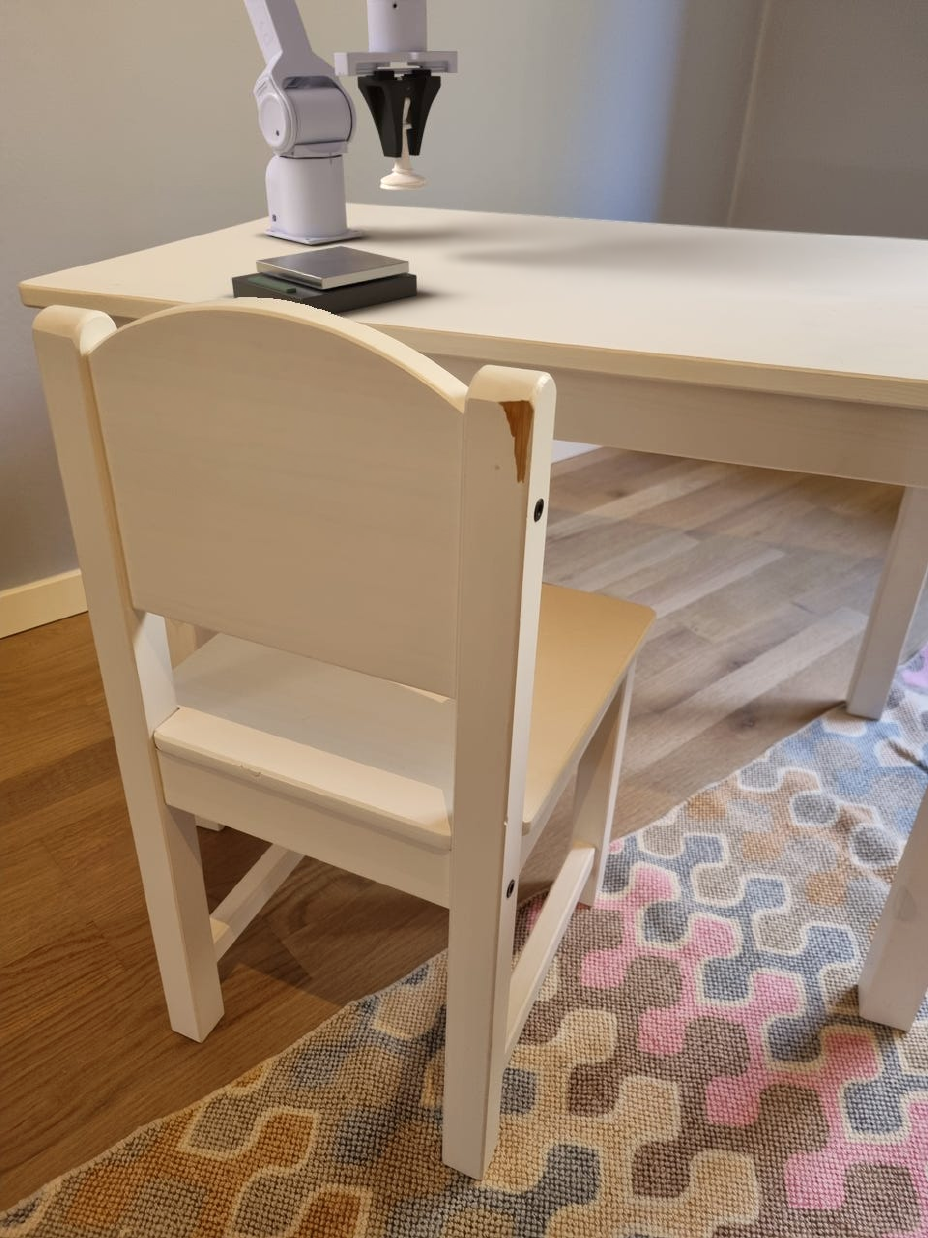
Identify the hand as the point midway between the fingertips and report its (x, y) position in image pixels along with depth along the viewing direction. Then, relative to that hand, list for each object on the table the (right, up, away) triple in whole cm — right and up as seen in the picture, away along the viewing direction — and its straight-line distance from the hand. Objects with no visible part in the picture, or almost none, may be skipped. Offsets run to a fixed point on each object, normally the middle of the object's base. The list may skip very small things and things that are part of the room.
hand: (401, 155), depth 95 cm
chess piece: (0, -3, +2) cm, 3 cm away
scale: (-6, -18, -10) cm, 21 cm away
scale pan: (-6, -16, -10) cm, 20 cm away
